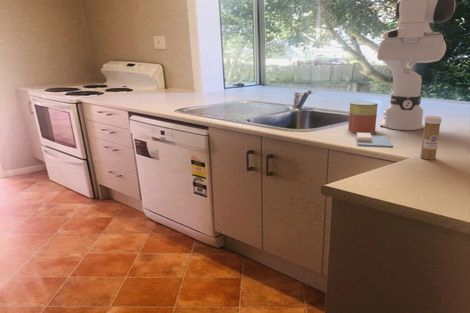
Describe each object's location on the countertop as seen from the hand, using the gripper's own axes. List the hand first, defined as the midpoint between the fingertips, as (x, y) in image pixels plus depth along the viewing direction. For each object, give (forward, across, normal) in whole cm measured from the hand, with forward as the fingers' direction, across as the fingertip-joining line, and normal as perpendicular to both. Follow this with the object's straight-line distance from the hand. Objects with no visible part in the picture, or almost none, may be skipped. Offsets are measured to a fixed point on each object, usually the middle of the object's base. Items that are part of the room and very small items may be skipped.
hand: (406, 73), depth 131 cm
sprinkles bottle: (+25, -6, +19) cm, 33 cm away
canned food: (+26, +13, -20) cm, 35 cm away
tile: (+24, +10, 0) cm, 26 cm away
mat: (+26, +9, 0) cm, 27 cm away
